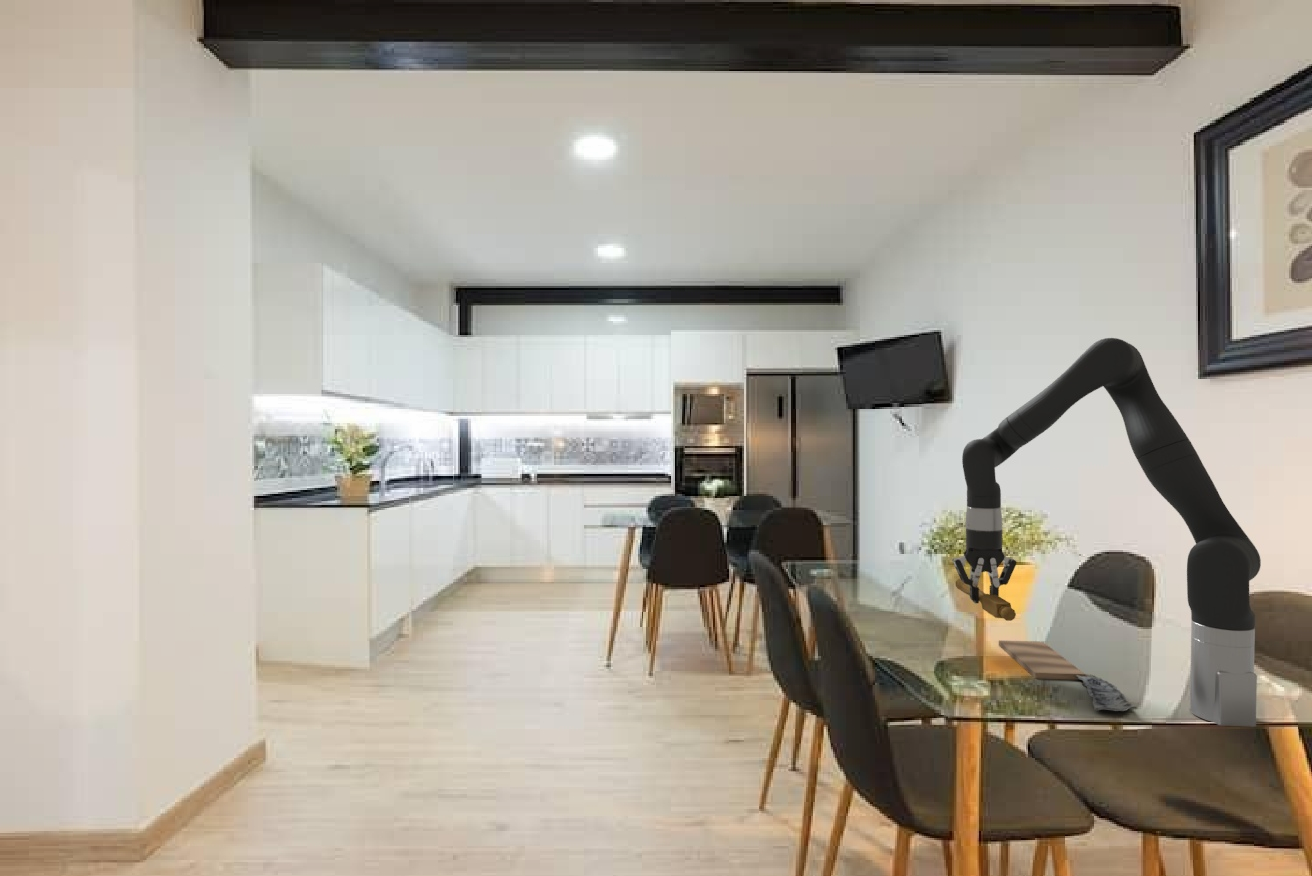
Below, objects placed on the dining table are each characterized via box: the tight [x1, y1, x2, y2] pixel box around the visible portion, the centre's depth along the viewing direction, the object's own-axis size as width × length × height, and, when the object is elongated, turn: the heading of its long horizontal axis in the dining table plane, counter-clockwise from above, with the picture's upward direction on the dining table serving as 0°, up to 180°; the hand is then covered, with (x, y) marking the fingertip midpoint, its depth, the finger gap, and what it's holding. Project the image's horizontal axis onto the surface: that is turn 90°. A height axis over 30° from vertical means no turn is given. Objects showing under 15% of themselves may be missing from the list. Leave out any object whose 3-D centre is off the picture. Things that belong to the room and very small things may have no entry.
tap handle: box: [955, 577, 1017, 622], centre depth 166 cm, size 3×3×30 cm
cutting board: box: [998, 639, 1086, 681], centre depth 164 cm, size 22×10×1 cm, turn 173°
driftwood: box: [1076, 673, 1138, 712], centre depth 144 cm, size 21×7×2 cm, turn 161°
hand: (984, 602), depth 165 cm, fingers closed on tap handle, 3 cm apart
